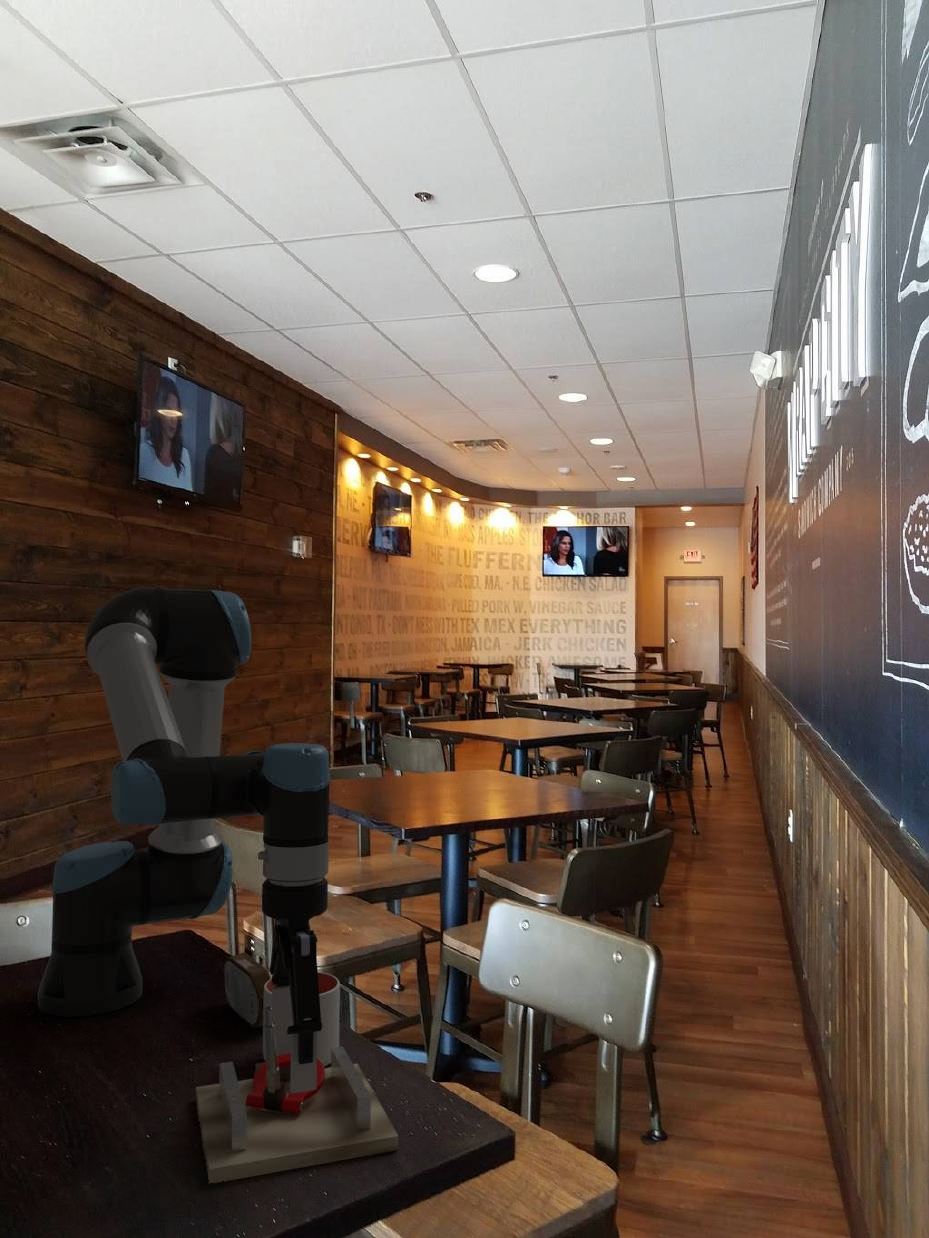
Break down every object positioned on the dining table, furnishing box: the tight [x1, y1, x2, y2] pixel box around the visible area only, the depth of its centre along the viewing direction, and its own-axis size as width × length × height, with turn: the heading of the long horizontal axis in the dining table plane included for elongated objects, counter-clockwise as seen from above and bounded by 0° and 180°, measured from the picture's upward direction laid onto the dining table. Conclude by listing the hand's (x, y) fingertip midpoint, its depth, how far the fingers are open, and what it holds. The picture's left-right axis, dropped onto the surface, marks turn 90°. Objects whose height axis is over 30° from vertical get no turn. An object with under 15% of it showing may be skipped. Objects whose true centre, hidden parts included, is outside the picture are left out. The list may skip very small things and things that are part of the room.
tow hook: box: [246, 1006, 325, 1113], centre depth 110 cm, size 8×13×9 cm
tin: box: [223, 952, 272, 1029], centre depth 138 cm, size 15×3×8 cm, turn 34°
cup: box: [262, 971, 341, 1068], centre depth 124 cm, size 10×10×10 cm
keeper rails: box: [218, 1045, 371, 1152], centre depth 108 cm, size 16×15×4 cm
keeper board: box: [195, 1063, 399, 1185], centre depth 107 cm, size 19×20×2 cm
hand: (292, 1064), depth 108 cm, fingers open, 13 cm apart
